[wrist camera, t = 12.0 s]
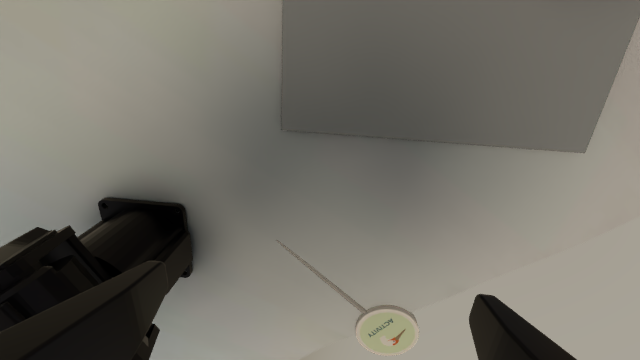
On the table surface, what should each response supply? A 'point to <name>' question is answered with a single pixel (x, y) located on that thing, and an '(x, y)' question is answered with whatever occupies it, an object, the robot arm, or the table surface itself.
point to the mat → (453, 69)
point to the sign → (379, 324)
